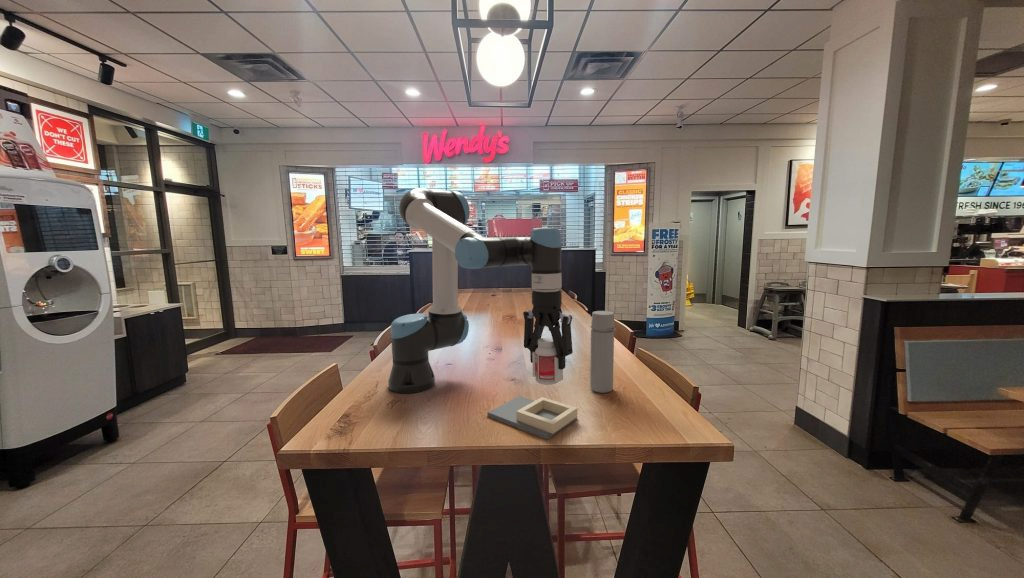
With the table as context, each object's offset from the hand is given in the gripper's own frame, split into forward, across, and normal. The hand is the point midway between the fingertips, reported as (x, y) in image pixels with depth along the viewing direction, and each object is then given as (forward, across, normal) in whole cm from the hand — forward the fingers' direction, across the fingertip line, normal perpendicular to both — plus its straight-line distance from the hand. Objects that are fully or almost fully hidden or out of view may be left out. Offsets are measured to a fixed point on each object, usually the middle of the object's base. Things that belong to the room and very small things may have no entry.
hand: (547, 377), depth 100 cm
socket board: (+12, -5, 0) cm, 14 cm away
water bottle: (+13, +1, +30) cm, 33 cm away
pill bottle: (+1, 0, 0) cm, 1 cm away
